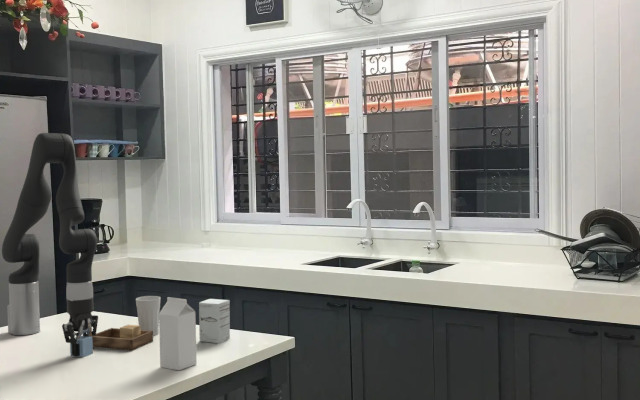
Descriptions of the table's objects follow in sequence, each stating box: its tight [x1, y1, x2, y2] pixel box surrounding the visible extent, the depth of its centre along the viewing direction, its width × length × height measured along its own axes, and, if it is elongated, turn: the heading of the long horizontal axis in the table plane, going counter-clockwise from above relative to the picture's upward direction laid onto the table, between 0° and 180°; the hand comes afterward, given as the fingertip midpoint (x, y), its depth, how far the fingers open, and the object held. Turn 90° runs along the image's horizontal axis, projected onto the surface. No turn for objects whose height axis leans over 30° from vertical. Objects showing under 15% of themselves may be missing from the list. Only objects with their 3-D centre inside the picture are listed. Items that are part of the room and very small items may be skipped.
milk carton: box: [158, 296, 198, 371], centre depth 197 cm, size 7×7×19 cm
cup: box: [135, 295, 161, 337], centre depth 235 cm, size 8×8×12 cm
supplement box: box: [198, 298, 231, 344], centre depth 226 cm, size 7×7×13 cm
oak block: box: [119, 324, 141, 339], centre depth 221 cm, size 4×4×5 cm
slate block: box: [69, 335, 94, 358], centre depth 211 cm, size 4×4×5 cm
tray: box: [92, 327, 154, 352], centre depth 222 cm, size 16×12×3 cm
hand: (81, 353), depth 211 cm, fingers closed on slate block, 4 cm apart
